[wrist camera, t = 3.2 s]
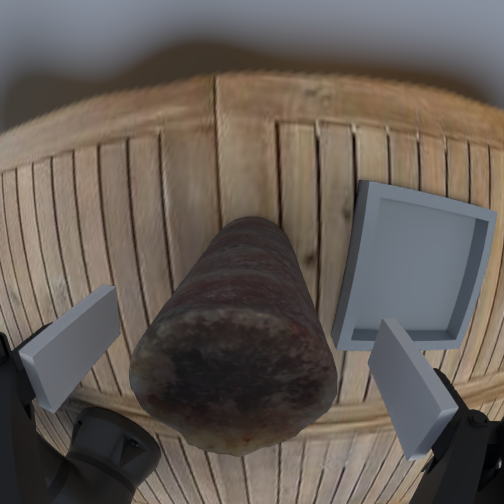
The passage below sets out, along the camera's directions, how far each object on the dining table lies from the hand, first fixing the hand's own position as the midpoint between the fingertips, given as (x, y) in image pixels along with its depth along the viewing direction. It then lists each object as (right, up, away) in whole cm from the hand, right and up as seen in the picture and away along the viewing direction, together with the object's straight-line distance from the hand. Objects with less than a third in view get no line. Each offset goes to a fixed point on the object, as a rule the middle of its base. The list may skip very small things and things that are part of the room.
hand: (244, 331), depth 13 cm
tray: (+17, +2, +14) cm, 22 cm away
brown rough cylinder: (0, +4, +15) cm, 15 cm away
